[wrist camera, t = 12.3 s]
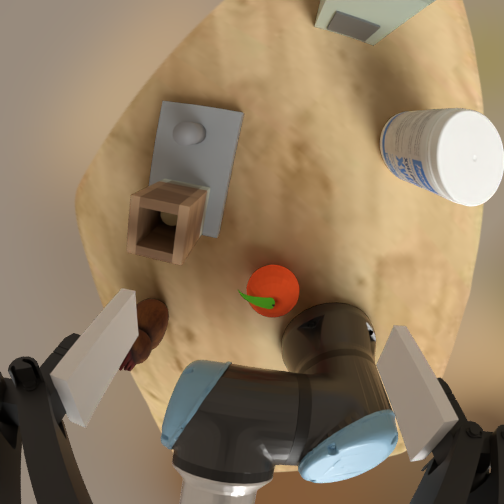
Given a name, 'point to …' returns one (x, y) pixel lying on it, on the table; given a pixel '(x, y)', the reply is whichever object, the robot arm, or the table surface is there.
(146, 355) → the wooden figurine
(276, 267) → the clementine
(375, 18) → the tower
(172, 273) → the table surface
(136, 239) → the sleeve
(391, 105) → the table surface
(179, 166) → the pin board
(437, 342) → the table surface
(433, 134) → the supplement tub
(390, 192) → the table surface
